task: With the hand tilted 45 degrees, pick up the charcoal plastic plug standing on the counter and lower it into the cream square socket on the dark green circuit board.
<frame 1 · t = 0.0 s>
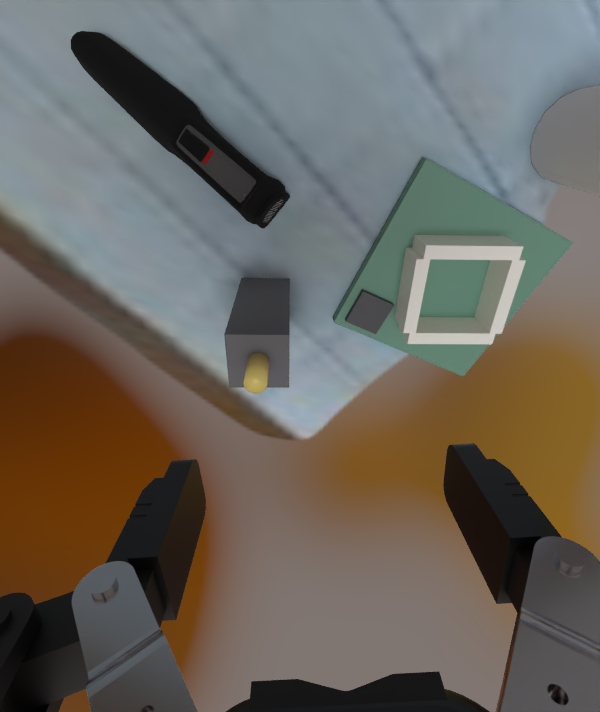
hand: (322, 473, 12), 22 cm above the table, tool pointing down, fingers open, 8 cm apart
plug: (266, 300, 33), on the table
socket: (447, 284, 32), resting on circuit board
grey cup: (570, 137, 27), on the table
electric trimmer: (197, 142, 27), on the table
circuit board: (443, 280, 33), on the table
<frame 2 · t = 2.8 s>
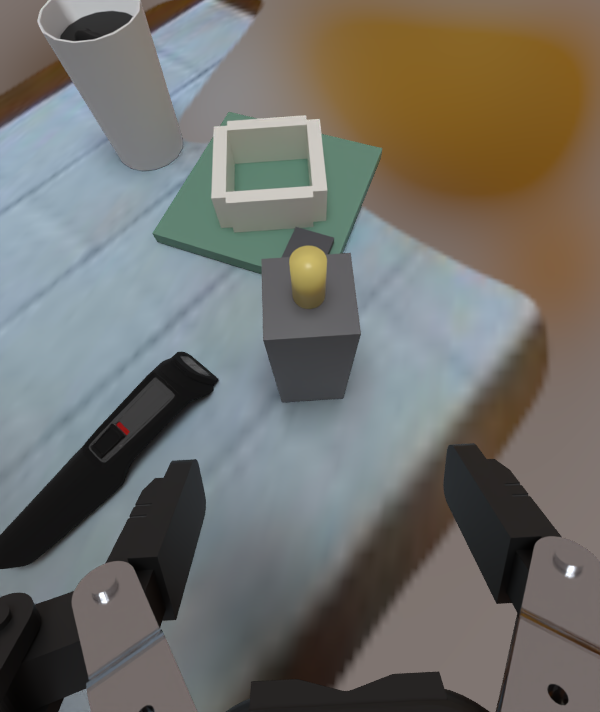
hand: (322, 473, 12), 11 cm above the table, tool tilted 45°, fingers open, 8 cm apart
plug: (310, 371, 26), on the table
socket: (272, 189, 30), resting on circuit board
grey cup: (151, 148, 34), on the table
electric trimmer: (127, 453, 25), on the table
circuit board: (273, 198, 31), on the table
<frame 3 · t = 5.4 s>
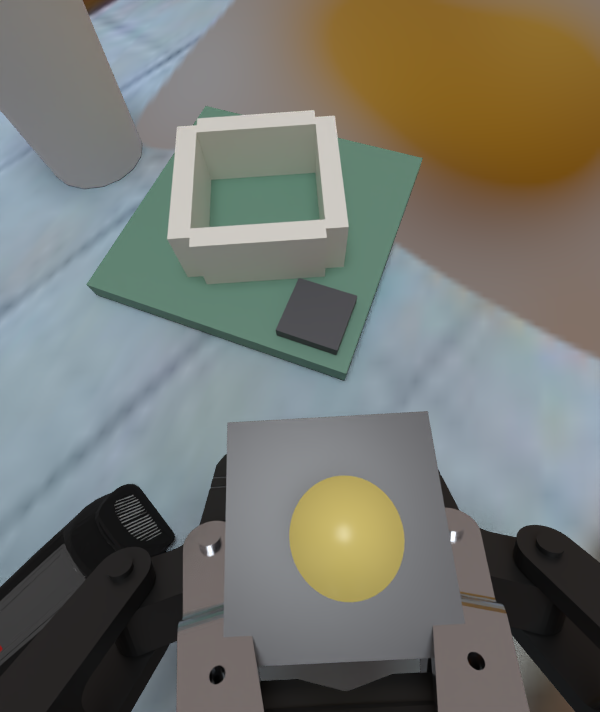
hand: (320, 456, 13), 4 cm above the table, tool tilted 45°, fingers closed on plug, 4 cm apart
plug: (322, 515, 16), on the table, touching gripper
socket: (264, 217, 21), resting on circuit board
grey cup: (99, 156, 25), on the table
electric trimmer: (16, 649, 15), on the table
circuit board: (266, 230, 22), on the table
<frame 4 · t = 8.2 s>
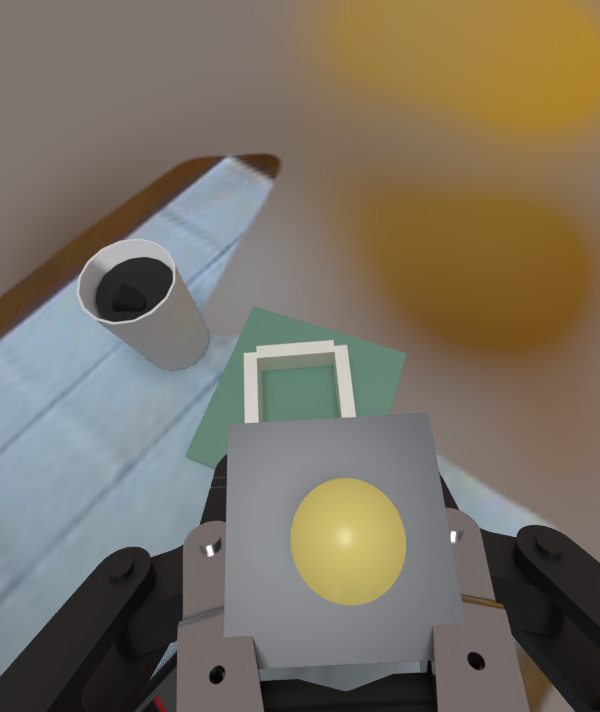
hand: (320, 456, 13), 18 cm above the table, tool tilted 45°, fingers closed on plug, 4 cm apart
plug: (322, 516, 16), point 14 cm above the table, touching gripper
socket: (300, 402, 31), resting on circuit board
grey cup: (178, 341, 35), on the table
electric trimmer: (161, 705, 25), on the table
circuit board: (300, 406, 32), on the table
when the fingers open (6 cm above the table, at t = 11.2 s): plug stays where it is, resting on circuit board.
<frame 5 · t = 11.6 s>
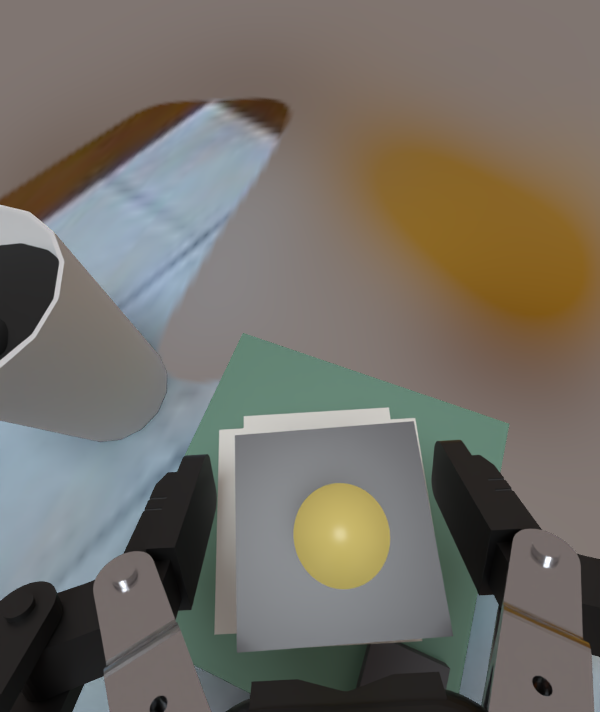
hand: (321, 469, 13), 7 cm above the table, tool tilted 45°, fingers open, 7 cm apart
plug: (322, 515, 17), point 1 cm above the table, touching circuit board
socket: (321, 515, 17), resting on circuit board
grey cup: (116, 389, 21), on the table
circuit board: (321, 514, 18), on the table
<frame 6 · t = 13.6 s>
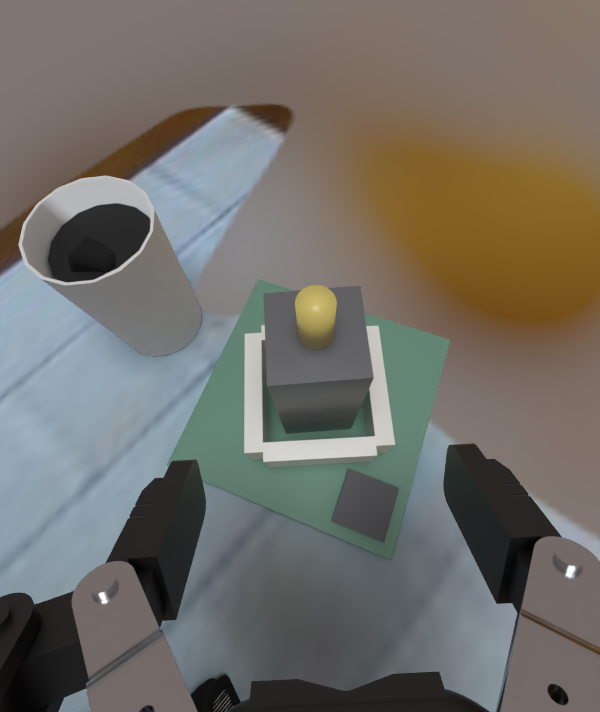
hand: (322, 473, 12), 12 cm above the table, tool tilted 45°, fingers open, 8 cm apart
plug: (315, 400, 24), point 1 cm above the table, touching circuit board
socket: (315, 399, 24), resting on circuit board
grey cup: (164, 321, 28), on the table
circuit board: (315, 403, 25), on the table
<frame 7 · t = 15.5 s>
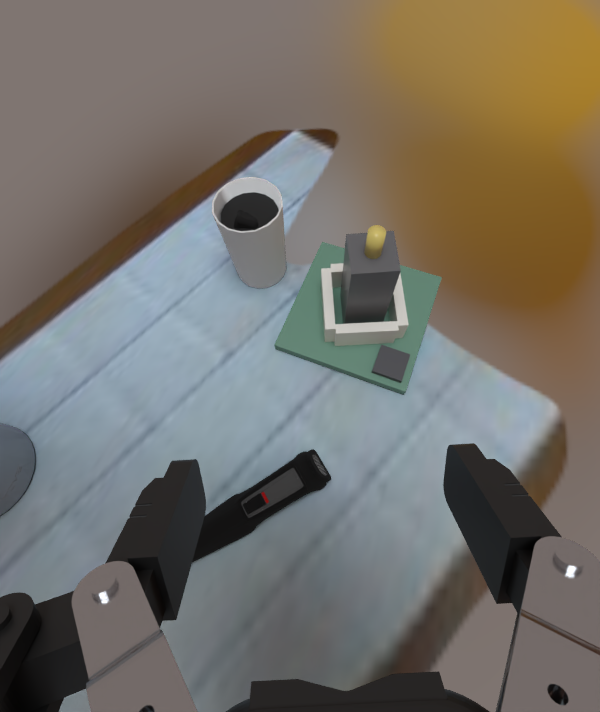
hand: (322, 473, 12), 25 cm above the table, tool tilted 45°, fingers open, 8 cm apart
plug: (360, 310, 41), point 1 cm above the table, touching circuit board
socket: (360, 310, 41), resting on circuit board
grey cup: (262, 268, 45), on the table
electric trimmer: (257, 507, 35), on the table
circuit board: (359, 314, 42), on the table
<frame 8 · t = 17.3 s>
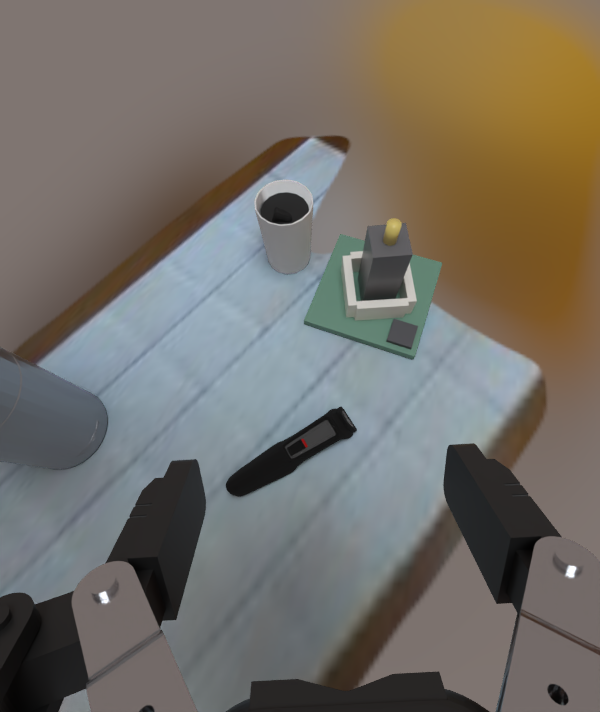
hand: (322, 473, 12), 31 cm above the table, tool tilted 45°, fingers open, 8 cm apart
plug: (375, 291, 49), point 1 cm above the table, touching circuit board
socket: (374, 291, 49), resting on circuit board
grey cup: (289, 257, 52), on the table
electric trimmer: (295, 453, 43), on the table
circuit board: (373, 295, 50), on the table
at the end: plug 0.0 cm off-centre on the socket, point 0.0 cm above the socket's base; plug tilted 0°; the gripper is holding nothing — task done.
